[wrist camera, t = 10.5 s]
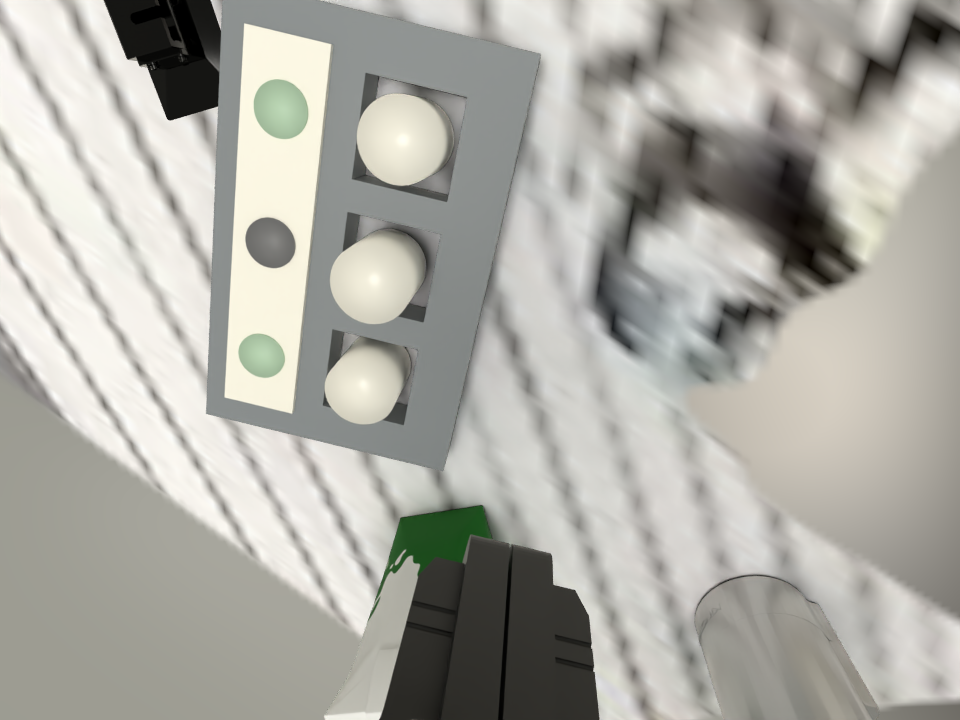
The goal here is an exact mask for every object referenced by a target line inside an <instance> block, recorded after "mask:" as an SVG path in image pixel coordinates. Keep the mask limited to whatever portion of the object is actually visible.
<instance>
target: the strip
mask: <svg viewBox="0 0 960 720" xmlns="http://www.w3.org/2000/svg"><path fill="white" fill-rule="evenodd" d="M332 54H333V45H332V44H328V43H324V42H320V41H316V40H312V39H308V38H303V37H299V36H295V35H291V34H287V33H283V32H278V31H274V30H270V29H266V28H262V27H258V26H254V25H249V24H245V23H244V37H243V56H242V75H241V94H240V113H239V132H238V151H237V170H236V189H235V208H234V227H233V245H232V264H231V283H230V302H229V321H228V340H227V359H226V378H225V398H229V399H233V400H238V401H242V402H246V403H250V404H254V405H258V406H262V407H266V408H271V409H275V410H279V411H283V412H287V413H291V414H292V413H293V412H294V409H295V399H296V390H297V381H298V371H299V362H300V353H301V343H302V334H303V325H304V316H305V306H306V297H307V288H308V278H309V269H310V260H311V250H312V241H313V232H314V222H315V213H316V204H317V194H318V185H319V176H320V166H321V157H322V148H323V138H324V129H325V120H326V110H327V101H328V92H329V82H330V73H331V64H332Z"/></svg>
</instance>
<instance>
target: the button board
mask: <svg viewBox="0 0 960 720" xmlns="http://www.w3.org/2000/svg"><path fill="white" fill-rule="evenodd" d="M244 23H245V24H249V25H254V26H258V27H262V28H266V29H270V30H274V31H278V32H283V33H287V34H291V35H295V36H299V37H303V38H308V39H312V40H316V41H320V42H324V43H328V44H332V45H333V54H332V64H331V73H330V82H329V92H328V101H327V110H326V120H325V129H324V138H323V148H322V157H321V166H320V176H319V185H318V194H317V204H316V213H315V222H314V232H313V241H312V250H311V260H310V269H309V278H308V288H307V297H306V306H305V316H304V325H303V334H302V343H301V353H300V362H299V371H298V381H297V390H296V399H295V409H294V412H293V413H292V414H291V413H287V412H283V411H279V410H275V409H271V408H266V407H262V406H258V405H254V404H250V403H246V402H242V401H238V400H233V399H229V398H225V378H226V359H227V340H228V321H229V302H230V283H231V264H232V245H233V227H234V208H235V189H236V170H237V151H238V132H239V113H240V94H241V75H242V56H243V37H244ZM539 63H540V54H539V53H535V52H531V51H527V50H523V49H518V48H514V47H510V46H506V45H502V44H498V43H493V42H489V41H485V40H481V39H477V38H473V37H469V36H464V35H460V34H456V33H452V32H448V31H444V30H440V29H435V28H431V27H427V26H423V25H419V24H415V23H410V22H406V21H402V20H398V19H394V18H390V17H386V16H381V15H377V14H373V13H369V12H365V11H361V10H357V9H352V8H348V7H344V6H340V5H336V4H332V3H327V2H323V1H319V0H222V24H221V50H220V75H219V100H218V126H217V151H216V177H215V202H214V228H213V253H212V278H211V304H210V329H209V355H208V380H207V406H206V414H209V415H213V416H217V417H221V418H226V419H230V420H234V421H238V422H242V423H246V424H250V425H255V426H259V427H263V428H267V429H271V430H275V431H279V432H283V433H288V434H292V435H296V436H300V437H304V438H308V439H312V440H317V441H321V442H325V443H329V444H333V445H337V446H341V447H345V448H350V449H354V450H358V451H362V452H366V453H370V454H374V455H378V456H383V457H387V458H391V459H395V460H399V461H403V462H407V463H412V464H416V465H420V466H424V467H428V468H432V469H436V470H440V471H443V470H444V466H445V463H446V459H447V455H448V452H449V448H450V443H451V439H452V435H453V431H454V426H455V422H456V418H457V414H458V409H459V405H460V401H461V396H462V392H463V388H464V384H465V379H466V375H467V371H468V366H469V362H470V358H471V354H472V349H473V345H474V341H475V337H476V332H477V328H478V324H479V319H480V315H481V311H482V307H483V302H484V298H485V294H486V289H487V285H488V281H489V277H490V272H491V268H492V264H493V259H494V255H495V251H496V247H497V242H498V238H499V234H500V230H501V225H502V221H503V217H504V212H505V208H506V204H507V200H508V195H509V191H510V187H511V182H512V178H513V174H514V170H515V165H516V161H517V157H518V153H519V148H520V144H521V140H522V135H523V131H524V127H525V123H526V118H527V114H528V110H529V105H530V101H531V97H532V93H533V88H534V84H535V80H536V76H537V71H538V67H539ZM379 76H380V77H384V78H388V79H392V80H396V81H400V82H404V83H409V84H413V85H417V86H421V87H425V88H429V89H433V90H438V91H442V92H446V93H450V94H454V95H458V96H463V97H467V102H466V107H465V113H464V118H463V123H462V128H461V133H460V138H459V143H458V149H457V154H456V159H455V164H454V169H453V174H452V180H451V185H450V190H449V195H446V194H442V193H437V192H433V191H429V190H425V189H421V188H417V187H413V186H408V185H405V186H398V185H392V184H389V183H386V182H384V181H382V180H380V179H379V178H375V177H371V176H367V175H365V172H366V165H365V164H364V162H363V160H362V158H361V156H360V153H359V150H358V145H357V129H358V124H359V121H360V119H361V116H362V114H363V113H364V111H365V110H366V108H367V107H368V106H369V105H370V104H371V103H372V102H373V101H375V99H376V92H377V85H378V78H379ZM360 215H363V216H367V217H371V218H375V219H379V220H384V221H388V222H392V223H396V224H400V225H404V226H408V227H413V228H417V229H421V230H425V231H429V232H433V233H437V234H441V236H440V241H439V247H438V252H437V257H436V262H435V267H434V272H433V277H432V283H431V288H430V293H429V298H428V303H427V308H424V307H420V306H416V305H411V304H408V305H407V306H406V308H405V309H404V310H403V312H402V313H401V314H400V315H399V316H397V317H396V318H395V319H393V320H391V321H389V322H386V323H382V324H367V323H363V322H360V321H357V320H355V319H353V318H352V317H350V316H349V315H347V314H346V313H345V312H344V311H343V310H342V309H341V308H340V307H339V306H338V304H337V302H336V301H335V299H334V297H333V294H332V291H331V287H330V274H331V269H332V266H333V264H334V262H335V260H336V259H337V258H338V256H339V255H340V254H341V253H342V252H344V251H345V250H346V249H348V248H349V247H351V246H352V245H354V244H355V243H356V238H357V231H358V224H359V216H360ZM344 332H346V333H351V334H355V335H359V336H363V337H367V338H371V339H375V340H380V341H384V342H388V343H392V344H396V345H400V346H404V347H408V348H413V349H417V350H418V355H417V360H416V365H415V370H414V375H413V381H412V386H411V391H410V396H409V401H408V405H404V404H400V403H395V405H394V407H393V409H392V411H391V412H390V413H389V415H388V416H386V417H385V418H384V419H382V420H381V421H379V422H376V423H373V424H356V423H352V422H350V421H347V420H345V419H343V418H342V417H340V416H339V415H338V414H337V413H336V412H335V411H334V410H333V409H332V408H331V406H330V405H329V403H328V401H327V398H326V395H325V381H326V378H327V375H328V373H329V372H330V370H331V369H332V368H333V367H334V366H335V364H336V363H337V362H338V361H339V360H340V355H341V348H342V340H343V333H344Z"/></svg>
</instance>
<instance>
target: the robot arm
mask: <svg viewBox="0 0 960 720" xmlns="http://www.w3.org/2000/svg"><path fill="white" fill-rule="evenodd" d="M695 627H696V631H697V634H698V637H699V642H700V645H701V647H702V650H703V654H704V657H705V660H706V663H707V667H708V670H709V674H710V677H711V680H712V683H713V687H714V690H715V693H716V696H717V700H718V703H719V706H720V709H721V712H722V716H723V719H724V720H877V718H878V716H879V709H878V706H877V704H876V703H875V701H874V699H873V698H872V696H871V694H870V692H869V691H868V689H867V687H866V685H865V684H864V682H863V680H862V679H861V677H860V675H859V673H858V672H857V670H856V668H855V666H854V665H853V663H852V661H851V660H850V658H849V656H848V654H847V653H846V651H845V649H844V647H843V646H842V644H841V642H840V641H839V639H838V637H837V635H836V634H835V632H834V630H833V628H832V627H831V625H830V623H829V622H828V620H827V618H826V616H825V615H824V613H823V611H822V609H821V608H820V606H819V605H818V604H815V603H811V602H809V601H807V600H806V599H805V598H804V597H803V595H802V594H801V593H800V592H799V591H798V590H797V589H796V588H794V587H793V586H792V585H790V584H788V583H786V582H784V581H782V580H779V579H775V578H771V577H763V576H749V577H741V578H737V579H733V580H730V581H728V582H725V583H723V584H721V585H719V586H717V587H716V588H714V589H713V590H711V591H710V592H709V593H708V594H707V595H706V596H705V597H704V598H703V599H702V601H701V603H700V604H699V606H698V608H697V611H696V614H695ZM591 644H592V642H591V632H590V622H589V615H588V614H587V612H586V610H585V608H584V606H583V604H582V602H581V601H580V599H579V597H578V595H577V593H576V591H575V590H572V589H568V588H564V587H559V586H555V585H553V564H552V555H551V554H550V553H546V552H542V551H538V550H534V549H530V548H526V547H521V546H517V545H513V544H512V545H511V546H510V547H509V544H508V543H504V542H500V541H496V540H492V539H488V538H483V537H479V536H475V535H470V537H469V540H468V544H467V547H466V551H465V555H464V559H463V562H462V563H459V562H455V561H451V560H447V559H443V558H439V557H435V558H434V559H433V560H432V561H431V562H430V563H429V565H428V566H427V567H426V568H425V569H424V570H423V571H422V572H421V573H420V574H419V576H418V579H417V583H416V587H415V591H414V595H413V598H412V602H411V606H410V610H409V613H408V617H407V621H406V625H405V629H404V632H403V636H402V640H401V644H400V648H399V651H398V655H397V659H396V663H395V666H394V670H393V674H392V678H391V682H390V685H389V689H388V693H387V697H386V701H385V704H384V708H383V711H382V714H381V717H380V719H379V720H599V711H598V701H597V691H596V681H595V672H593V668H594V662H593V652H592V649H591Z"/></svg>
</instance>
